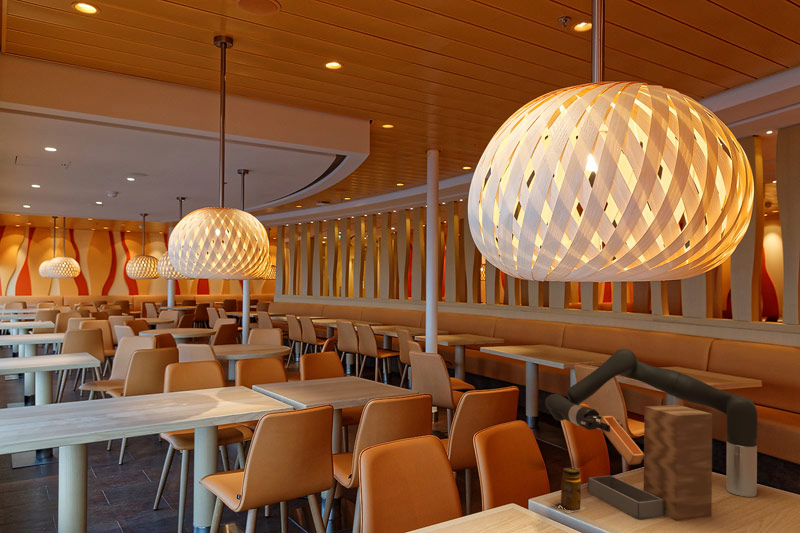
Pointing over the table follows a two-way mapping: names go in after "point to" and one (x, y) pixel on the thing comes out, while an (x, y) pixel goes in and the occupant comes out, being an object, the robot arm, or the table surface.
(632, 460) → the narrow crate
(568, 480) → the condiment
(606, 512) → the table surface
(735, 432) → the robot arm
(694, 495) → the walnut stand
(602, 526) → the table surface
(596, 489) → the charcoal crate
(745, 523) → the table surface
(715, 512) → the table surface
